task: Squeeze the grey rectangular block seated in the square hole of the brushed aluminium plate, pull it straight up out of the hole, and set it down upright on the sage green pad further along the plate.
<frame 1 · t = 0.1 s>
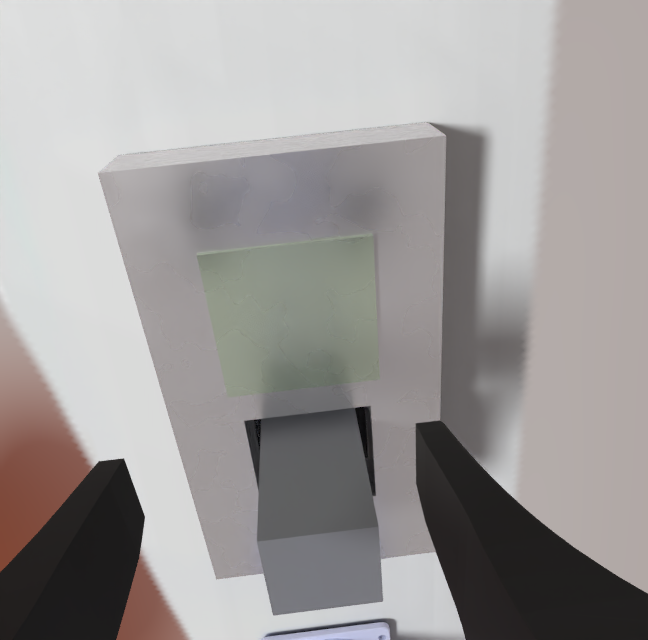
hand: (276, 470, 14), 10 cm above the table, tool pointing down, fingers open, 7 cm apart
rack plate: (303, 370, 24), on the table
grey rectangular block: (310, 422, 26), resting in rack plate
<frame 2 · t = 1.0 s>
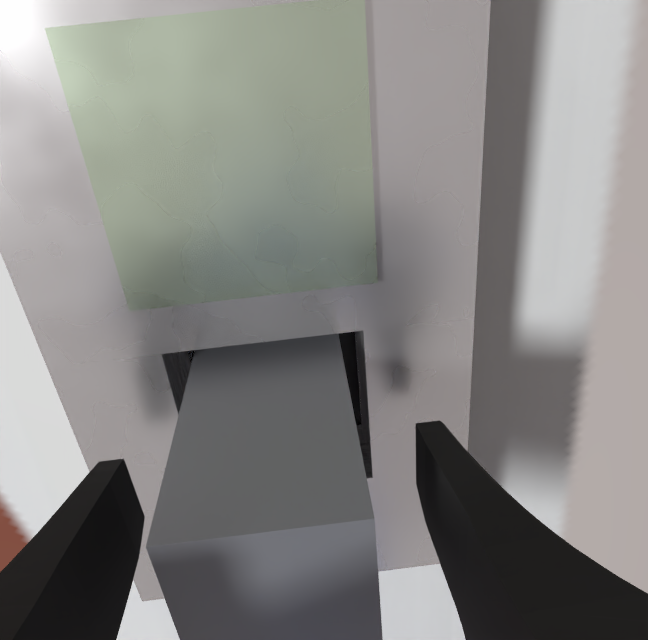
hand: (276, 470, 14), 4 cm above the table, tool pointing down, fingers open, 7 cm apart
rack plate: (262, 286, 16), on the table
grey rectangular block: (276, 370, 17), resting in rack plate
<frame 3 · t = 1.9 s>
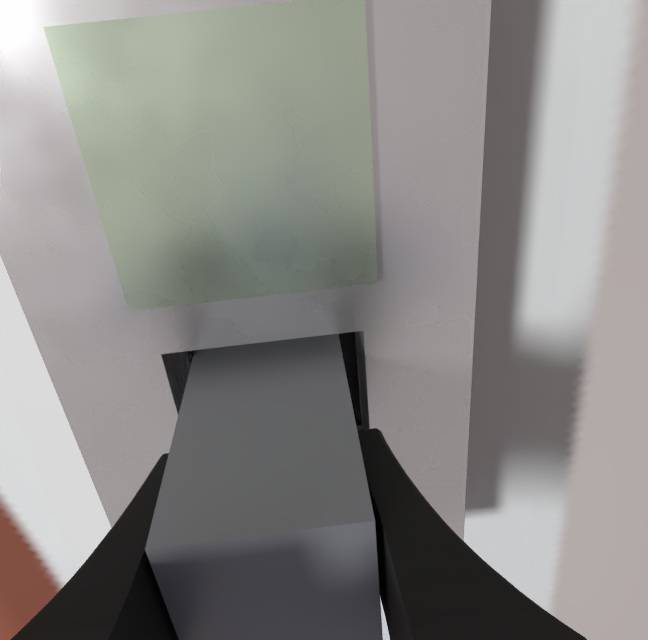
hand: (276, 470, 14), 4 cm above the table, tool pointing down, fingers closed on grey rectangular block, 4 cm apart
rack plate: (262, 286, 16), on the table
grey rectangular block: (276, 370, 17), resting in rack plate, touching gripper
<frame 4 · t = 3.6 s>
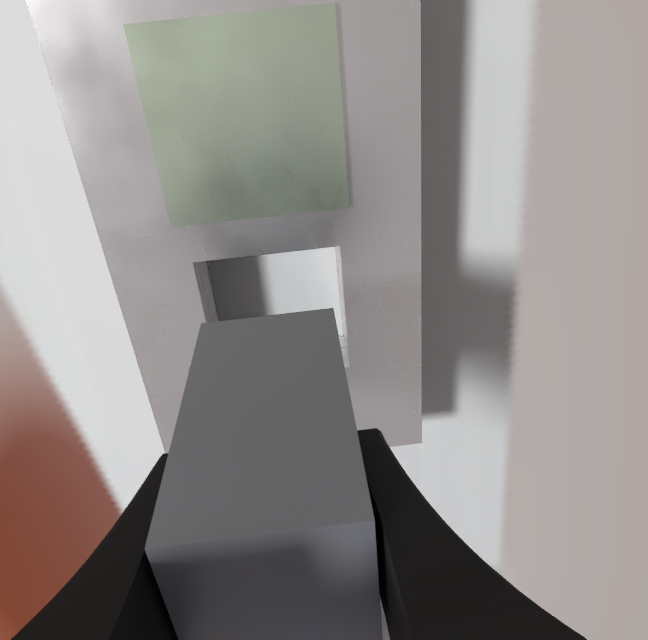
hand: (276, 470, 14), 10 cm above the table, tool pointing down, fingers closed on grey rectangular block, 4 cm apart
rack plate: (266, 220, 21), on the table
grey rectangular block: (276, 370, 17), point 6 cm above the table, touching gripper
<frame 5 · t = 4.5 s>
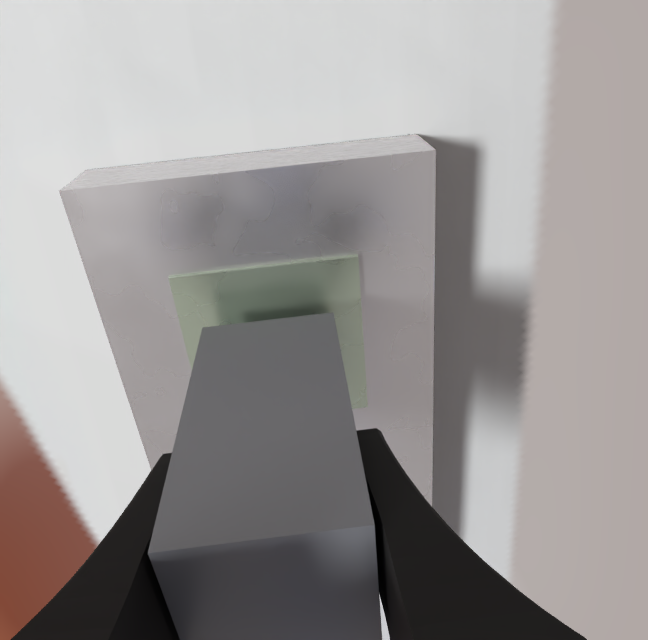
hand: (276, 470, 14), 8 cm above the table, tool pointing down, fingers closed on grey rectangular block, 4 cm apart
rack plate: (288, 394, 23), on the table
grey rectangular block: (276, 373, 18), point 4 cm above the table, touching gripper
when the fingers open (8 cm above the table, at t = 5.2 s): grey rectangular block drops 1 cm, resting on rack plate.
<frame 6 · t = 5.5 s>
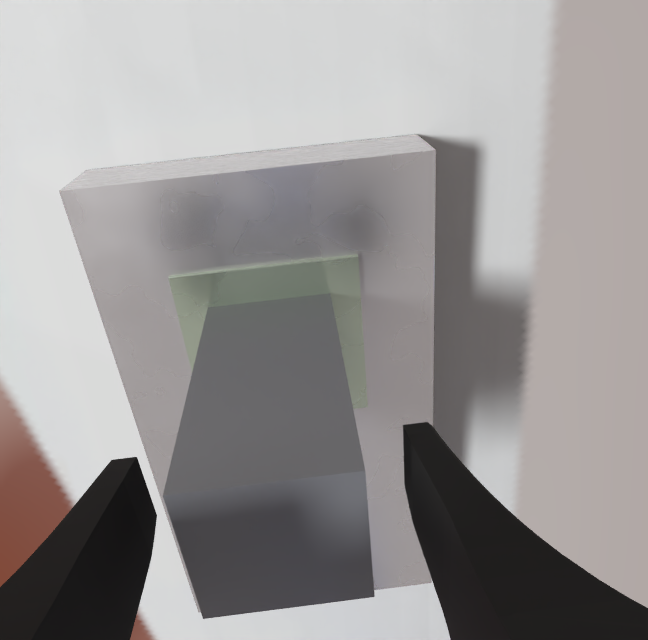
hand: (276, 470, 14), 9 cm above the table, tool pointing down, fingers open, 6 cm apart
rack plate: (288, 394, 23), on the table
grey rectangular block: (277, 351, 19), point 3 cm above the table, touching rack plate
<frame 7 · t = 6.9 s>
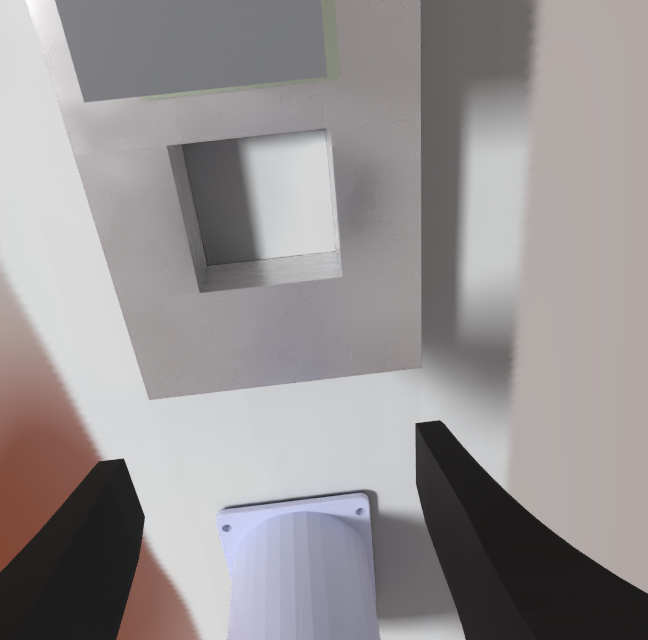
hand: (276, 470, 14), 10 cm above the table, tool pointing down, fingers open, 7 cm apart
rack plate: (250, 111, 19), on the table
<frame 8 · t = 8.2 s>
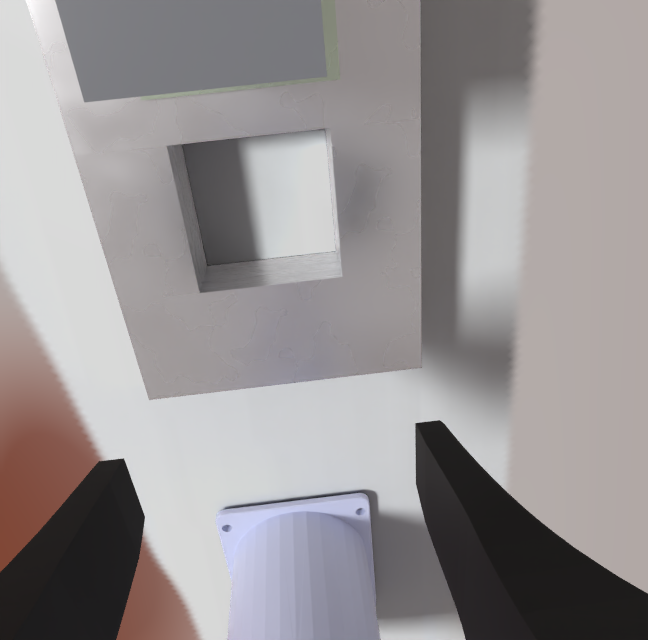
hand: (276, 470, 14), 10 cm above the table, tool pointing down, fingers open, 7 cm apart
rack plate: (250, 111, 19), on the table
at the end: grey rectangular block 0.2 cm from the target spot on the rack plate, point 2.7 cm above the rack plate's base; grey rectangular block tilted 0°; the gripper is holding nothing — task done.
